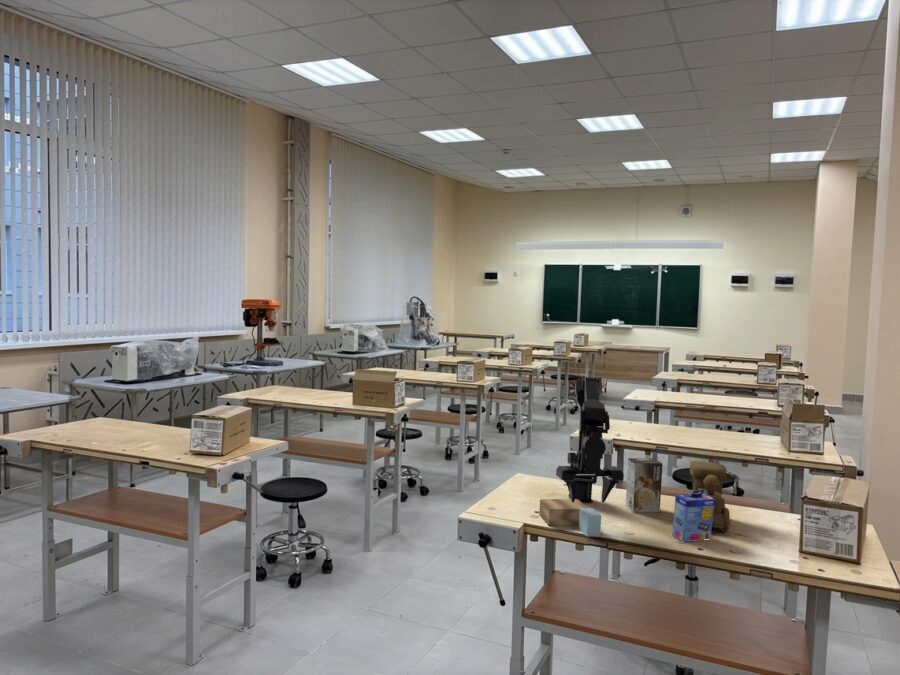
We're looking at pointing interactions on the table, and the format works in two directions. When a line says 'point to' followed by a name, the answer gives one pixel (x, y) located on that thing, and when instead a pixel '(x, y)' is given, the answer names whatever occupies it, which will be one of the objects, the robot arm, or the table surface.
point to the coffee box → (644, 485)
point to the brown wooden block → (560, 511)
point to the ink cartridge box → (693, 516)
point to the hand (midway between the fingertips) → (587, 502)
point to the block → (590, 522)
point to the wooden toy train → (712, 488)
